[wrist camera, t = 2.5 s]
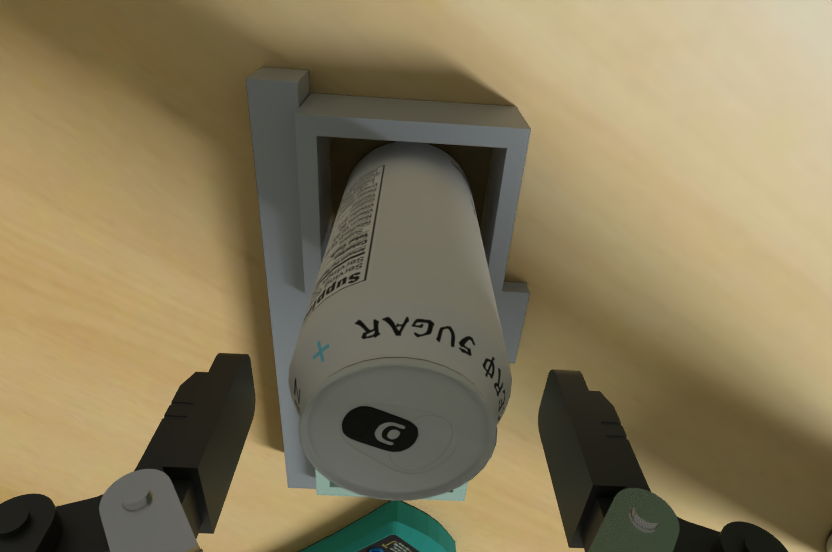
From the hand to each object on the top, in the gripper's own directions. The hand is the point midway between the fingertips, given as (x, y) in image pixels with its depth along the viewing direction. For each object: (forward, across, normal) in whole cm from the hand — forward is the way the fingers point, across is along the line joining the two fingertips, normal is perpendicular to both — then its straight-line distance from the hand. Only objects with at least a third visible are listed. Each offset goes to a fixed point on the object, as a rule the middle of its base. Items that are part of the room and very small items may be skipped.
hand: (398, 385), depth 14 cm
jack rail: (+13, 0, +7) cm, 15 cm away
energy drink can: (+14, 0, 0) cm, 14 cm away
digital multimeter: (+14, +2, +31) cm, 34 cm away
